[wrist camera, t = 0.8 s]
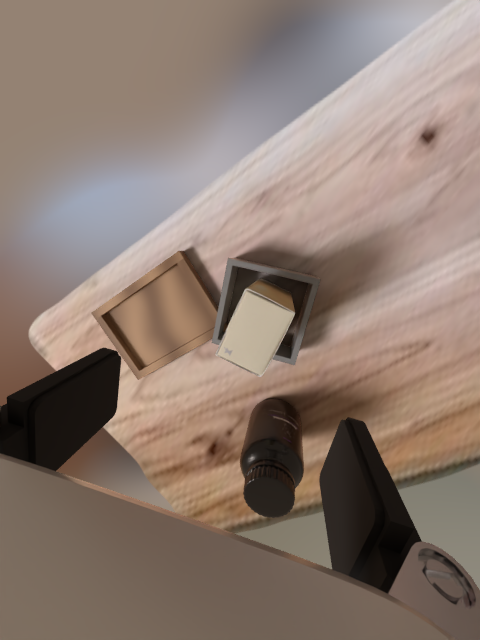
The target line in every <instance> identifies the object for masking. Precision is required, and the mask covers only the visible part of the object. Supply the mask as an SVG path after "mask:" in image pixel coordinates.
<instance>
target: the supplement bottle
mask: <svg viewBox="0 0 480 640" xmlns="http://www.w3.org/2000/svg"><path fill="white" fill-rule="evenodd" d="M240 467H241V471H242V473H243V476H244V478H245V485H244V492H243V494H244V499H245V500H246V503H247V504H248V506H249V507H250V508H251V509H252V510H254V512H256V513H258V514H259V515H262V516H264V517H269V518H270V517H272V518H275V517H280V516H284V515H286V514H287V513H288V512H290V510H291V509H292V508H293V505H294V500H295V488H296V487H297V486H298V485H299V483H300V482H301V480H302V477H303V473H304V461H303V446H302V430H301V420H300V416H299V414H298V412H297V411H296V409H295V408H294V407H293V406H292V405H290V404H289V403H287V402H285V401H283V400H279V399H267V400H264V401H262V402H260V403H259V404H257V405H256V406H255V408H254V409H253V411H252V413H251V417H250V420H249V424H248V428H247V432H246V437H245V441H244V445H243V449H242V453H241V458H240Z"/></svg>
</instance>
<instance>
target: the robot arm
mask: <svg viewBox="0 0 480 640" xmlns="http://www.w3.org/2000/svg"><path fill="white" fill-rule="evenodd" d="M120 366H121V357H120V356H119V355H118V352H117V351H114V350H111V349H107V348H101V349H99V350H97V351H95V352H93V353H91V354H89V355H87V356H86V357H84V358H82V359H80V360H78V361H76V362H74V363H72V364H70V365H68V366H66V367H64V368H62V369H60V370H58V371H56V372H54V373H53V374H50V375H49V376H47V377H45V378H43V379H41V380H39V381H37V382H35V383H33V384H31V385H29V386H27V387H25V388H23V389H21V390H19V391H17V392H15V393H13V394H12V395H10V396H8V397H7V404H5V405H3V406H0V640H480V590H479V588H478V587H477V585H476V584H475V582H474V581H473V579H472V577H471V576H470V575H469V574H468V573H467V572H466V570H465V569H464V568H463V567H462V566H461V565H460V564H459V563H458V562H457V561H456V560H455V559H454V558H453V557H452V556H450V555H449V554H448V553H446V552H445V551H443V550H442V549H440V548H439V547H437V546H435V545H433V544H430V543H426V542H422V541H421V539H420V537H419V535H418V533H417V530H416V528H415V526H414V524H413V522H412V520H411V518H410V516H409V514H408V512H407V509H406V507H405V505H404V503H403V501H402V499H401V497H400V495H399V492H398V490H397V488H396V486H395V484H394V482H393V480H392V478H391V476H390V473H389V471H388V470H387V468H386V466H385V465H384V463H383V460H382V458H381V456H380V454H379V452H378V450H377V448H376V446H375V443H374V441H373V439H372V437H371V435H370V433H369V431H368V429H367V426H366V424H365V423H364V422H363V421H359V420H356V419H352V418H349V417H348V418H347V419H346V420H341V422H340V424H339V427H338V429H337V432H336V434H335V437H334V439H333V442H332V445H331V447H330V450H329V452H328V455H327V458H326V460H325V463H324V465H323V468H322V470H321V473H320V489H321V496H322V503H323V509H324V516H325V522H326V529H327V536H328V543H329V549H330V556H331V563H332V569H329V568H326V567H323V566H321V565H318V564H316V563H313V562H310V561H308V560H305V559H303V558H300V557H297V556H295V555H292V554H289V553H287V552H284V551H281V550H278V549H275V548H273V547H269V546H267V545H264V544H261V543H259V542H256V541H253V540H250V539H248V538H244V537H242V536H239V535H236V534H234V533H231V532H228V531H225V530H222V529H220V528H217V527H214V526H211V525H208V524H206V523H203V522H200V521H197V520H194V519H191V518H189V517H186V516H183V515H180V514H177V513H174V512H171V511H169V510H166V509H163V508H160V507H157V506H154V505H152V504H149V503H145V502H143V501H140V500H137V499H134V498H132V497H128V496H126V495H123V494H120V493H117V492H114V491H111V490H108V489H106V488H103V487H100V486H97V485H94V484H91V483H88V482H85V481H82V480H79V479H76V478H74V477H71V476H68V475H65V474H62V473H59V472H56V470H57V469H59V468H60V467H61V466H62V465H63V464H64V463H65V462H66V461H67V460H68V459H69V458H70V457H71V456H72V455H73V454H74V453H75V452H76V451H77V450H79V449H80V448H81V447H82V446H83V445H84V444H85V443H86V442H87V441H88V440H89V439H90V438H91V437H92V436H93V435H95V434H96V433H97V432H98V431H99V430H100V429H101V428H102V427H103V426H104V425H105V424H106V423H107V422H108V421H109V420H110V419H111V418H112V417H113V416H114V415H115V413H116V410H117V400H118V389H119V377H120Z"/></svg>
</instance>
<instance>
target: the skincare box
mask: <svg viewBox="0 0 480 640" xmlns="http://www.w3.org/2000/svg"><path fill="white" fill-rule="evenodd" d="M294 315H295V310H294V305H293V300H292V296H291V293H290V292H289V291H287V290H285V289H283V288H281V287H279V286H277V285H275V284H273V283H271V282H269V281H267V280H265V279H263V278H260V279H258V280H257V281H256V282H254V283H253V284H252V285H250V286H249V287H248V288H246V289H245V290H244V292H243V295H242V297H241V299H240V301H239V303H238V305H237V307H236V309H235V312H234V314H233V316H232V318H231V320H230V323H229V325H228V327H227V329H226V332H225V334H224V336H223V338H222V341H221V343H220V345H219V347H218V350H217V352H216V356H218V357H220V358H222V359H224V360H226V361H228V362H230V363H232V364H234V365H236V366H238V367H240V368H242V369H244V370H246V371H248V372H250V373H252V374H255V375H257V376H259V377H261V376H263V374H264V372H265V371H266V369H267V368H268V366H269V364H270V363H271V361H272V359H273V357H274V355H275V353H276V351H277V350H278V348H279V346H280V344H281V342H282V340H283V338H284V336H285V334H286V332H287V330H288V328H289V326H290V324H291V322H292V320H293V317H294Z"/></svg>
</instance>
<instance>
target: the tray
mask: <svg viewBox="0 0 480 640" xmlns="http://www.w3.org/2000/svg"><path fill="white" fill-rule="evenodd" d="M217 313H218V306H217V304H216V303H215V301H214V299H213V298H212V296H211V295H210V293H209V291H208V290H207V288H206V287H205V285H204V283H203V282H202V280H201V279H200V277H199V275H198V274H197V272H196V270H195V269H194V267H193V266H192V264H191V262H190V261H189V259H188V258H187V256H186V254H185V253H184V251H178V252H177V253H175V254H174V255H172V256H171V257H170V258H168V259H167V260H165V261H164V262H163V263H161V264H160V265H158V266H157V267H156V268H154V269H153V270H151V271H150V272H148V273H147V274H146V275H144V276H143V277H141V278H140V279H139V280H137V281H136V282H134V283H133V284H132V285H130V286H129V287H127V288H126V289H125V290H123V291H122V292H120V293H119V294H117V295H116V296H115V297H113V298H112V299H110V300H109V301H108V302H106V303H105V304H103V305H102V306H101V307H99V308H98V309H96V310H95V311H93V312H92V315H93V316H94V318H95V319H96V320H97V322H98V323H99V325H100V326H101V328H102V329H103V330H104V332H105V333H106V335H107V336H108V338H109V339H110V340H111V342H112V343H113V345H114V346H115V348H116V349H117V350H118V352H119V353H120V355H121V356H122V358H123V359H124V360H125V362H126V363H127V365H128V366H129V368H130V369H131V370H132V372H133V373H134V375H135V376H136V378H137V379H138V380H139V379H141V378H142V377H144V376H146V375H148V374H150V373H151V372H153V371H155V370H157V369H158V368H160V367H162V366H164V365H166V364H167V363H169V362H171V361H173V360H174V359H176V358H178V357H180V356H182V355H183V354H185V353H187V352H189V351H191V350H192V349H194V348H196V347H198V346H199V345H201V344H203V343H205V342H207V341H208V340H210V339H212V338H213V333H214V328H215V323H216V318H217ZM228 325H229V324H228V322H226V323H225V325H224V330H223V332H224V331H226V329H227V327H228Z"/></svg>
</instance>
